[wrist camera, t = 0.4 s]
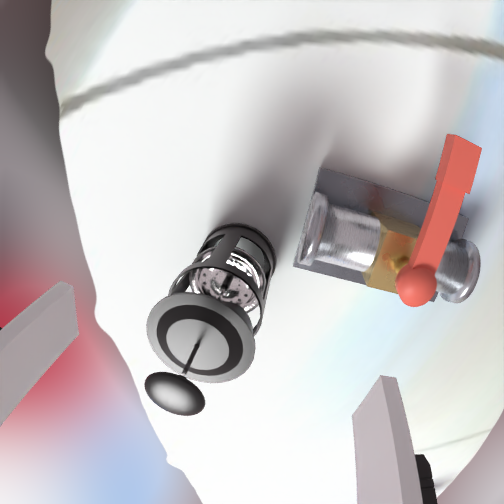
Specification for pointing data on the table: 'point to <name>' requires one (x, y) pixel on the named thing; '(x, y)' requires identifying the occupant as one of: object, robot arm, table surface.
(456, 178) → the lever
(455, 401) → the table surface
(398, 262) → the valve body
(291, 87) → the table surface
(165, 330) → the french press
